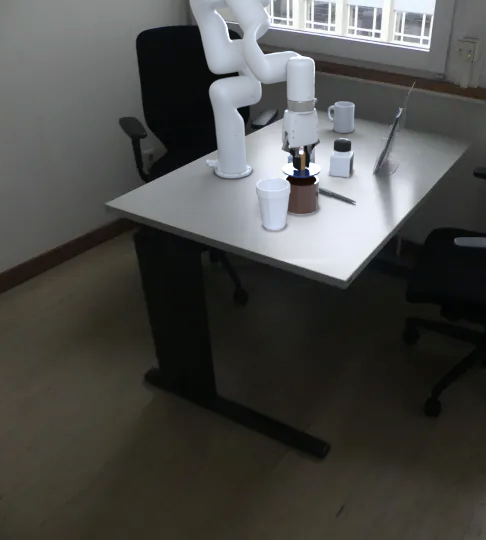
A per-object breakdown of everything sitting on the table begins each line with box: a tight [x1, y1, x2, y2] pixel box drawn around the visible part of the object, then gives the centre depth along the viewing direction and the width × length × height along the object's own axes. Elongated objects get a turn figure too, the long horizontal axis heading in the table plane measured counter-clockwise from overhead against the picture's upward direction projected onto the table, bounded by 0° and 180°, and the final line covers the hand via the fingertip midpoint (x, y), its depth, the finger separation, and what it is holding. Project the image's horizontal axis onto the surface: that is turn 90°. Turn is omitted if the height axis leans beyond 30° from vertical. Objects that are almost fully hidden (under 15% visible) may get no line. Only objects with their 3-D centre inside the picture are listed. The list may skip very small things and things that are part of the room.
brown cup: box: [283, 175, 320, 215], centre depth 161 cm, size 10×10×10 cm
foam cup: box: [255, 177, 290, 230], centre depth 150 cm, size 10×9×13 cm
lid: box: [282, 151, 321, 178], centre depth 156 cm, size 11×11×6 cm
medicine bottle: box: [329, 137, 355, 178], centre depth 185 cm, size 7×7×12 cm
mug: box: [326, 101, 355, 134], centre depth 225 cm, size 12×8×11 cm
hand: (301, 167), depth 157 cm, fingers closed on lid, 2 cm apart
